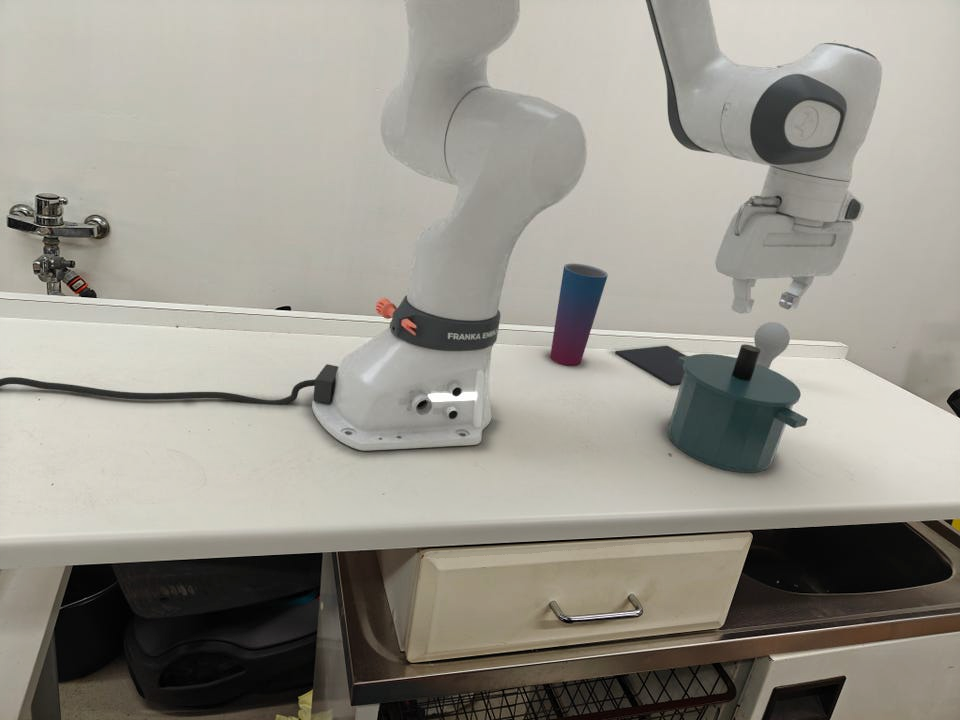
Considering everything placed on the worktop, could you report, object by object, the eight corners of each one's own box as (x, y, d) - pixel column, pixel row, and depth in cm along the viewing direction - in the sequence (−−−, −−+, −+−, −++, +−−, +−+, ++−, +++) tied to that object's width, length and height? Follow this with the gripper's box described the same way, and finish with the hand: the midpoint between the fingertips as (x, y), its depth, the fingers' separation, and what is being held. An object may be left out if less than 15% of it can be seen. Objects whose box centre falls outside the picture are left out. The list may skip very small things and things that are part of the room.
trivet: (670, 385, 113) (671, 383, 113) (614, 353, 123) (615, 350, 123) (723, 377, 120) (724, 375, 120) (666, 347, 130) (667, 345, 130)
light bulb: (781, 383, 123) (801, 328, 119) (761, 385, 120) (780, 329, 116) (756, 369, 127) (774, 316, 123) (735, 372, 124) (753, 317, 120)
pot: (744, 492, 85) (770, 422, 82) (633, 418, 99) (650, 355, 96) (810, 473, 93) (836, 407, 89) (697, 407, 107) (716, 348, 103)
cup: (584, 371, 112) (607, 280, 107) (542, 362, 113) (562, 270, 108) (587, 357, 119) (608, 269, 113) (547, 347, 119) (566, 260, 114)
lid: (750, 418, 83) (764, 377, 81) (658, 366, 94) (669, 329, 92) (820, 403, 91) (835, 366, 89) (729, 357, 102) (740, 323, 100)
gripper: (769, 201, 76) (731, 324, 81) (872, 207, 87) (832, 314, 92) (722, 188, 80) (688, 304, 86) (825, 195, 92) (790, 297, 97)
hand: (764, 309), depth 89 cm, fingers open, 8 cm apart
